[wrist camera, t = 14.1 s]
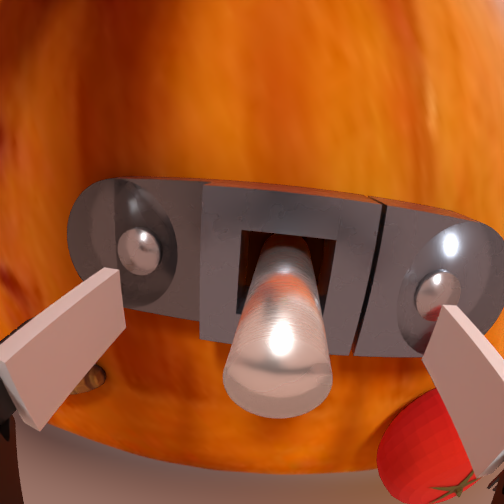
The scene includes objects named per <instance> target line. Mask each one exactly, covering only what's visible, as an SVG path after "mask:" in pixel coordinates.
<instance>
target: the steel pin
mask: <svg viewBox="0 0 504 504" xmlns="http://www.w3.org/2000/svg"><path fill="white" fill-rule="evenodd" d="M332 379H333V378H332V370H331V364H330V358H329V351H328V345H327V339H326V334H325V328H324V322H323V317H322V311H321V306H320V300H319V295H318V290H317V285H316V280H315V275H314V270H313V265H312V260H311V255H310V251H309V247H308V245H307V243H306V242H305V241H304V240H303V239H302V238H301V237H300V236H296V235H286V234H277V233H276V234H274V235H272V236H271V237H269V238H268V239H267V240H266V241H265V243H264V244H263V246H262V249H261V252H260V256H259V259H258V262H257V265H256V269H255V272H254V275H253V278H252V282H251V285H250V288H249V291H248V295H247V298H246V301H245V304H244V307H243V311H242V314H241V317H240V320H239V323H238V327H237V330H236V333H235V336H234V339H233V343H232V346H231V349H230V352H229V355H228V358H227V362H226V365H225V368H224V372H223V383H224V387H225V389H226V392H227V393H228V395H229V396H230V398H231V399H232V400H233V401H234V402H235V403H236V404H237V405H238V406H240V407H241V408H243V409H244V410H246V411H248V412H250V413H253V414H255V415H259V416H262V417H268V418H290V417H295V416H299V415H302V414H305V413H307V412H309V411H311V410H313V409H314V408H316V407H317V406H318V405H320V404H321V403H322V402H323V401H324V400H325V398H326V397H327V395H328V394H329V392H330V390H331V386H332Z"/></svg>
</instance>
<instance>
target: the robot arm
mask: <svg viewBox="0 0 504 504" xmlns="http://www.w3.org/2000/svg"><path fill="white" fill-rule="evenodd" d="M125 328H126V323H125V316H124V309H123V301H122V292H121V283H120V272H119V270H118V269H111V268H105V267H104V268H102V269H101V270H100V271H98V272H97V273H95V274H94V275H92V276H91V277H89V278H88V279H87V280H85V281H84V282H82V283H81V284H79V285H78V286H77V287H75V288H74V289H72V290H71V291H70V292H68V293H67V294H65V295H64V296H63V297H61V298H60V299H59V300H57V301H56V302H54V303H53V304H52V305H50V306H49V307H48V308H46V309H45V310H44V311H42V312H41V313H40V314H38V315H37V316H36V317H33V318H31V319H29V320H27V321H25V322H24V323H23V324H21V325H20V326H19V327H17V329H15V330H14V331H12V332H11V333H10V335H7V336H6V337H5V338H4V339H2V340H1V341H0V504H24V502H23V497H22V491H21V484H20V477H19V469H18V460H17V448H16V430H15V420H14V417H13V415H12V414H13V413H14V412H15V411H16V410H17V411H18V413H19V415H20V417H21V418H22V420H23V422H25V423H26V424H28V425H29V426H31V427H33V428H35V429H36V430H38V431H41V429H42V428H43V427H44V426H45V424H46V423H47V422H48V421H49V419H50V418H51V417H52V416H53V414H54V413H55V412H56V410H57V409H58V408H59V407H60V405H61V404H62V403H63V402H64V401H65V399H66V398H67V397H68V396H69V394H70V393H71V392H72V391H73V389H74V388H75V387H76V386H77V385H78V383H79V382H80V381H81V380H82V379H83V377H84V376H85V375H86V374H87V372H88V371H89V370H90V369H91V368H92V367H93V365H94V364H95V363H96V362H97V361H98V359H99V358H100V357H101V356H102V355H103V354H104V352H105V351H106V350H107V349H108V348H109V347H110V345H111V344H112V343H113V342H114V341H115V340H116V338H117V337H118V336H119V335H120V334H121V333H122V332H123V330H124V329H125ZM422 361H423V363H424V365H425V367H426V369H427V371H428V372H429V374H430V376H431V378H432V380H433V382H434V384H435V386H436V388H437V390H438V392H439V394H440V396H441V398H442V400H443V402H444V404H445V406H446V408H447V411H448V413H449V415H450V417H451V419H452V421H453V423H454V426H455V428H456V430H457V432H458V435H459V437H460V439H461V441H462V444H463V446H464V449H465V451H466V453H467V456H468V458H469V461H470V463H471V466H472V468H473V471H474V474H475V476H476V479H477V478H480V477H483V476H485V475H488V474H491V473H493V472H494V471H495V470H496V469H497V467H499V466H500V465H501V464H502V462H503V461H504V359H503V358H502V357H501V356H500V354H499V353H498V352H497V351H496V350H495V348H494V347H493V346H492V345H491V344H490V342H489V341H488V340H487V339H486V338H485V337H484V335H483V334H482V333H481V332H480V331H479V330H478V329H477V327H476V326H475V325H474V324H473V323H472V322H471V321H470V320H469V318H468V317H467V316H466V315H465V314H464V313H463V312H462V311H461V310H460V309H459V308H458V307H457V306H456V305H442V308H441V311H440V314H439V316H438V319H437V322H436V325H435V328H434V330H433V333H432V335H431V338H430V341H429V343H428V346H427V348H426V351H425V353H424V355H423V358H422ZM496 482H498V484H497V486H496V487H495V488H494V489H493V491H495V494H494V497H493V500H492V503H491V504H504V470H503V471H502V472H501V473H500V474H499V475H498V476H497V477H496V478H495V479H494V480H493V481H492V482H491V483H490V484H489V485H488V487H487V488H488V489H490V488H491V486H493V485H494V484H495V483H496Z"/></svg>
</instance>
